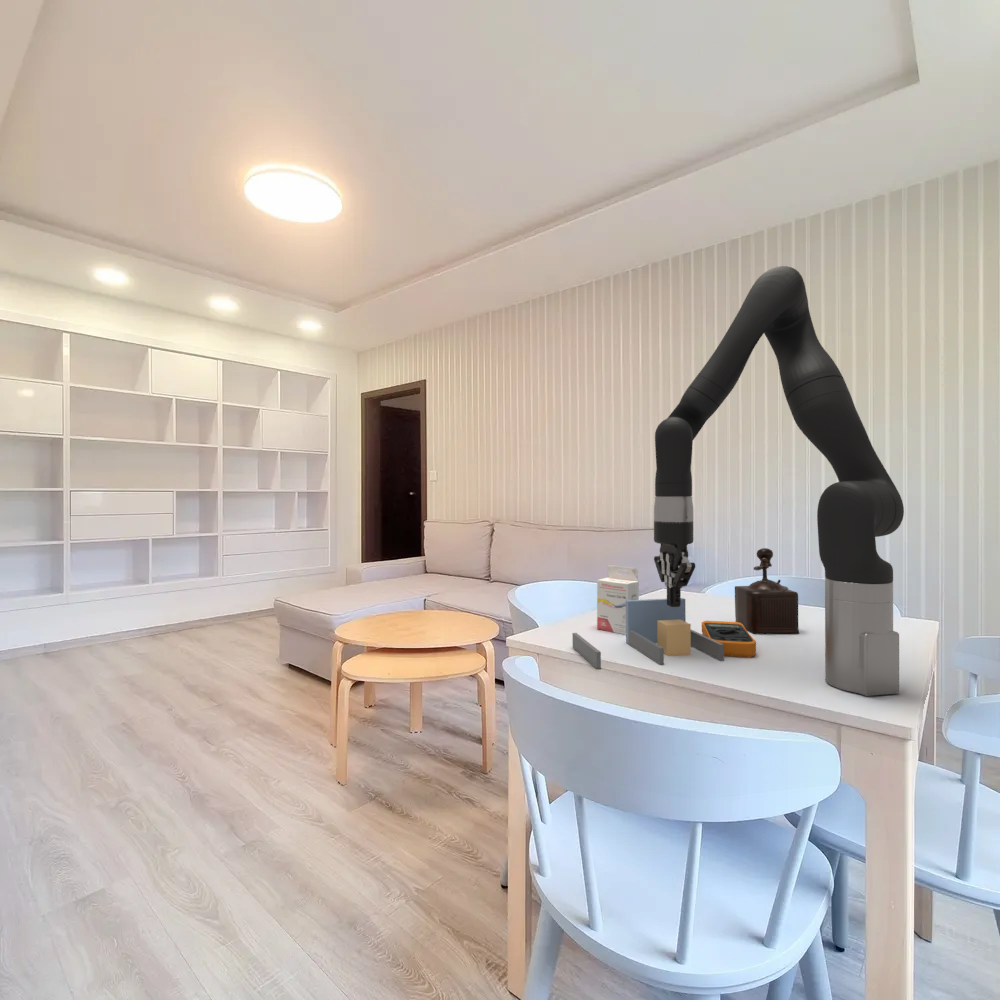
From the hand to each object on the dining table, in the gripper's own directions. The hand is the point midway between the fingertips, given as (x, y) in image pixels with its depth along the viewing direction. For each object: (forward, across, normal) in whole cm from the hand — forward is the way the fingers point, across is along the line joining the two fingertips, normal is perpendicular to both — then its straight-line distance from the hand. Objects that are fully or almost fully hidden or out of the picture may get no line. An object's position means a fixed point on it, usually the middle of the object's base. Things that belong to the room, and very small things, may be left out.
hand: (673, 606), depth 107 cm
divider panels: (+9, 0, +6) cm, 11 cm away
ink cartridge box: (+9, +18, +4) cm, 21 cm away
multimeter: (+10, +2, -13) cm, 17 cm away
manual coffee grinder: (+9, +15, -31) cm, 36 cm away
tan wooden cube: (+9, 0, 0) cm, 9 cm away
